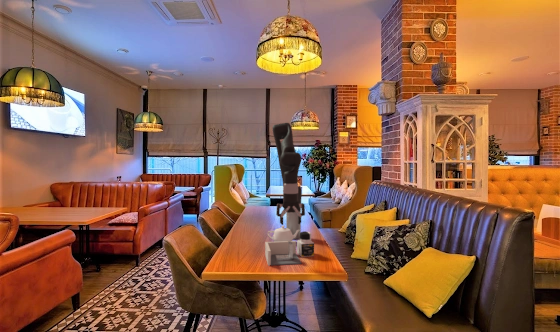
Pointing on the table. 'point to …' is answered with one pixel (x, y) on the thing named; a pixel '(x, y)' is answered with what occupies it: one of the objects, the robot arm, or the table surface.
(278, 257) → the bracket
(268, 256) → the corner walls
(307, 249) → the medicine bottle
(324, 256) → the table surface
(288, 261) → the slate mat
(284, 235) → the teapot
